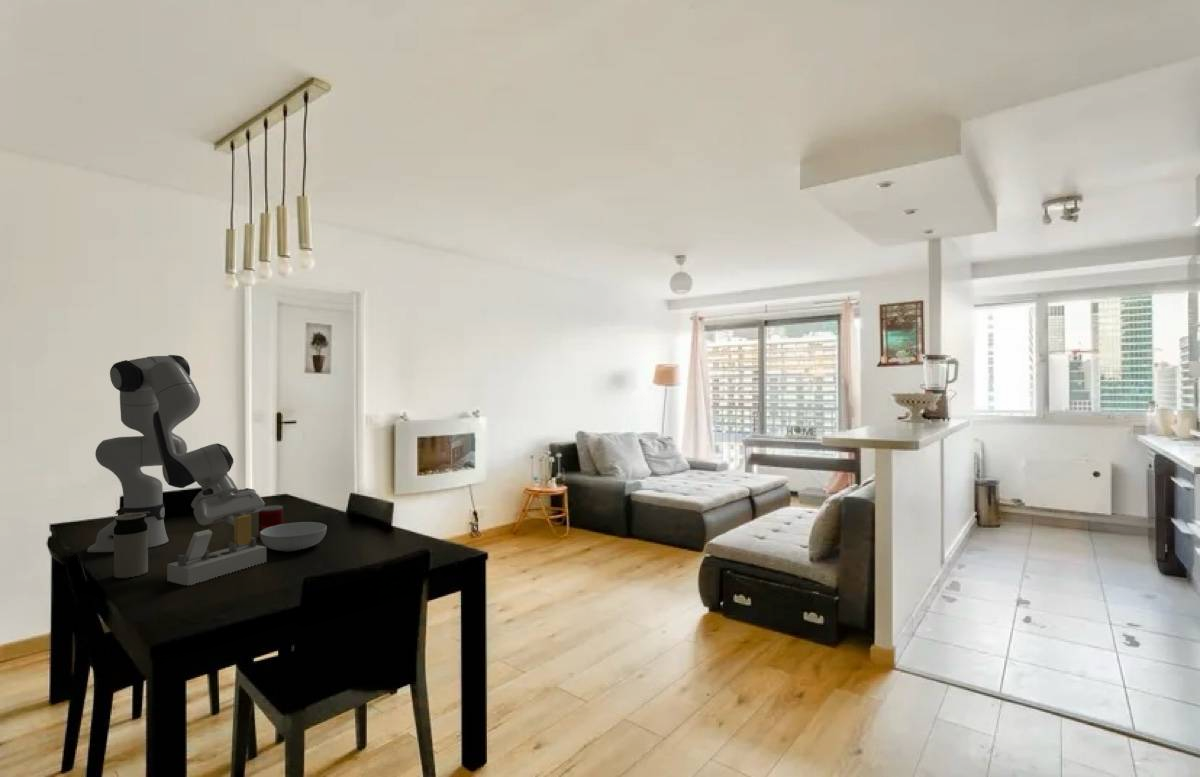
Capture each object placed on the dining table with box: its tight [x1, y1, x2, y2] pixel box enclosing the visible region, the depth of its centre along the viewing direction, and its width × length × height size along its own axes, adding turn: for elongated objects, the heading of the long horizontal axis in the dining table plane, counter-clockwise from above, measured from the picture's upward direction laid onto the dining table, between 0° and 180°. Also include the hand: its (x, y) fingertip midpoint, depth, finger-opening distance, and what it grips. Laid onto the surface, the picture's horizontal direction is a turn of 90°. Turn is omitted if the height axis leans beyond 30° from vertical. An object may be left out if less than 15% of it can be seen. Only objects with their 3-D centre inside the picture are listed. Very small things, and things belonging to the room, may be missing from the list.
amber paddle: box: [233, 514, 252, 548], centre depth 187 cm, size 2×5×10 cm, turn 156°
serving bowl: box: [259, 521, 328, 552], centre depth 206 cm, size 21×21×7 cm
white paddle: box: [185, 529, 213, 562], centre depth 173 cm, size 2×5×10 cm
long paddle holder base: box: [166, 536, 267, 587], centre depth 180 cm, size 10×24×8 cm, turn 156°
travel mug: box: [113, 513, 149, 579], centre depth 177 cm, size 8×8×18 cm
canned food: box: [258, 504, 284, 538], centre depth 221 cm, size 8×8×11 cm
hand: (241, 526), depth 188 cm, fingers closed, pressing on amber paddle
